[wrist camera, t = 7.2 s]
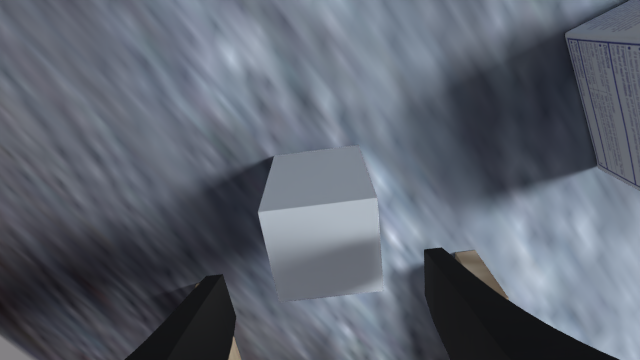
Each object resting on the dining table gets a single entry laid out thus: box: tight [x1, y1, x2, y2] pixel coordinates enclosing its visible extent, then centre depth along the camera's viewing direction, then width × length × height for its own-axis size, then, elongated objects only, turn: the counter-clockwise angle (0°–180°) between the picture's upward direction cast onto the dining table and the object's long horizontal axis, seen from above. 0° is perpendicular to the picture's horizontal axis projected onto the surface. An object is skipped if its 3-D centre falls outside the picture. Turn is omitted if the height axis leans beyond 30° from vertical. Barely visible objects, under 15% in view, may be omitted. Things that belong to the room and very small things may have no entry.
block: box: [258, 145, 384, 302], centre depth 17 cm, size 4×4×6 cm
